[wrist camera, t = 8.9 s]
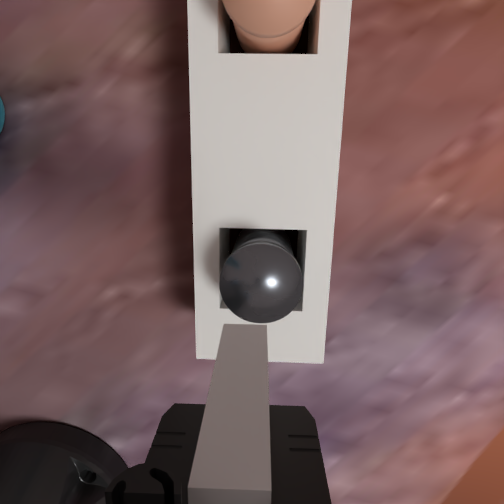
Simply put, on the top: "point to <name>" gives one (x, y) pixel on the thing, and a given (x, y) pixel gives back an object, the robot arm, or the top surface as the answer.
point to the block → (266, 164)
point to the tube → (2, 114)
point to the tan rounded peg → (268, 24)
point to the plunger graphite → (261, 276)
